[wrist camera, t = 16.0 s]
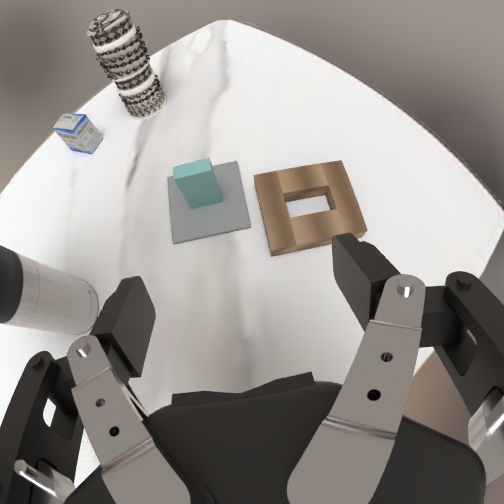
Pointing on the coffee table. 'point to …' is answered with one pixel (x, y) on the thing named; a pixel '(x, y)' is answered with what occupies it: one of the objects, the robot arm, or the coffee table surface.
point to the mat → (209, 208)
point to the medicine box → (78, 132)
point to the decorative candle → (127, 63)
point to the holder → (312, 225)
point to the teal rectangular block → (198, 183)
